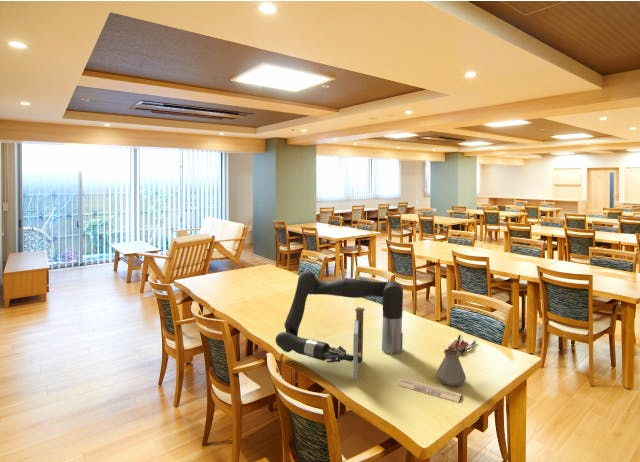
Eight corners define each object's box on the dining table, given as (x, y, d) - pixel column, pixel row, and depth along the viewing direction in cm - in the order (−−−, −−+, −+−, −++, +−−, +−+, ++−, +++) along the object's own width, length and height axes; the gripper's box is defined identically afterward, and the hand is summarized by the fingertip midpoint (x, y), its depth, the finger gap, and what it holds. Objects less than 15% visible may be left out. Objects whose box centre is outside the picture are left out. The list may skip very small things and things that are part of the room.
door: (353, 362, 176) (354, 319, 173) (361, 363, 175) (362, 320, 173) (352, 380, 160) (353, 333, 157) (360, 380, 160) (361, 334, 157)
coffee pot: (462, 392, 153) (464, 355, 151) (432, 384, 158) (434, 349, 157) (472, 369, 171) (474, 337, 169) (445, 363, 177) (447, 331, 175)
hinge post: (357, 359, 180) (358, 307, 177) (363, 361, 178) (364, 308, 175) (354, 362, 177) (355, 309, 174) (360, 363, 176) (361, 310, 173)
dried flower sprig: (464, 358, 183) (477, 344, 198) (465, 349, 182) (477, 336, 198) (446, 353, 188) (459, 340, 204) (446, 344, 187) (460, 332, 203)
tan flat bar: (461, 397, 150) (462, 392, 150) (457, 406, 144) (458, 401, 144) (402, 380, 163) (402, 376, 162) (396, 388, 156) (397, 384, 156)
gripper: (309, 347, 165) (346, 356, 157) (324, 336, 177) (359, 344, 168) (309, 364, 166) (345, 374, 158) (323, 352, 178) (359, 360, 169)
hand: (352, 358), depth 163 cm, fingers closed
